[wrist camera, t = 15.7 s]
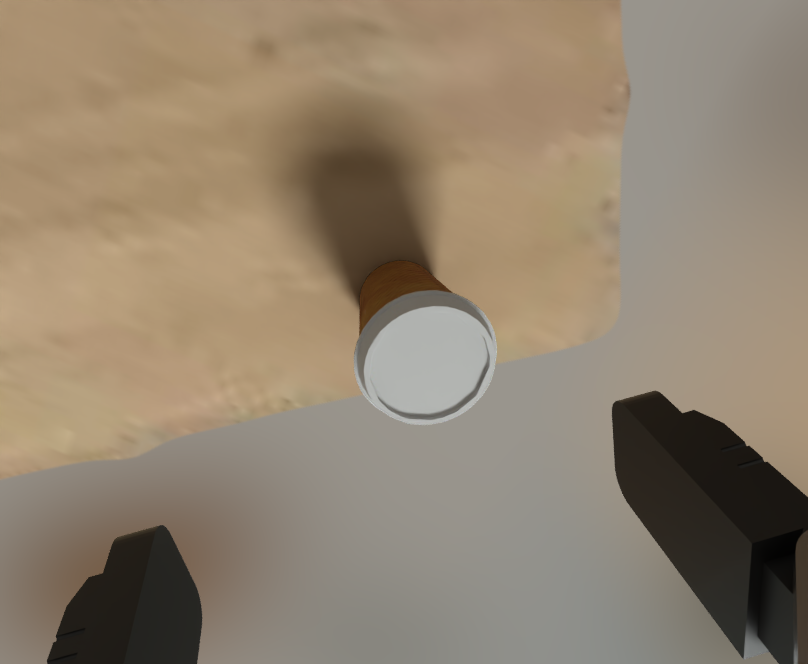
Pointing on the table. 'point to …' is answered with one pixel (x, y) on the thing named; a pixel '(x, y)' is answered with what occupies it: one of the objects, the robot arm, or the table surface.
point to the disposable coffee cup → (421, 346)
